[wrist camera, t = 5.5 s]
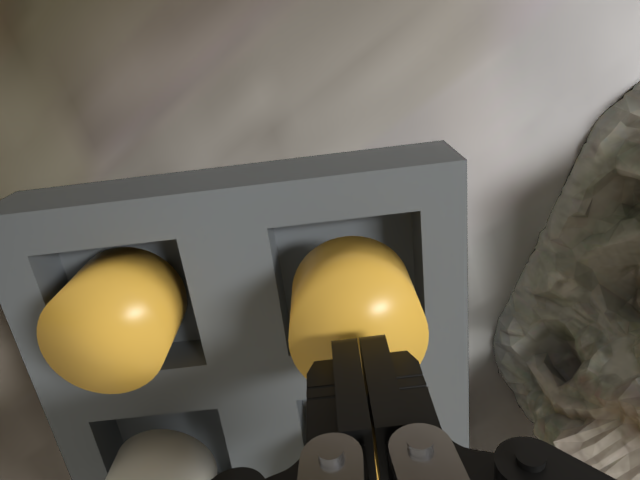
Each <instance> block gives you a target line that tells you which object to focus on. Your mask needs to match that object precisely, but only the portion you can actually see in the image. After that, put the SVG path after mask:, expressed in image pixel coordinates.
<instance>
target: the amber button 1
mask: <svg viewBox="0 0 640 480" xmlns="http://www.w3.org/2000/svg"><path fill="white" fill-rule="evenodd" d="M186 309H187V293H186V289H185V286H184V283H183V281H182V279H181V277H180V276H179V274H178V273H177V271H176V270H175V269H174V268H173V267H172V266H171V265H170V264H169V263H168V262H167V261H165V260H164V259H163V258H161V257H159V256H158V255H156V254H154V253H152V252H149V251H147V250H143V249H140V248H134V247H117V248H111V249H108V250H105V251H103V252H101V253H98V254H97V255H95V256H94V257H92V258H91V259H90V260H89V261H88V262H87V263H86V264H85V265H84V266H83V267H82V268H81V269H80V270H79V271H78V272H77V274H76V275H75V276H74V277H73V278H72V279H71V280H70V281H69V282H68V283H67V284H66V285H65V286H64V287H63V288H62V289H61V290H60V291H59V292H58V293H57V294H56V295H55V296H54V297H53V298H52V300H51V301H50V302H49V303H48V304H47V305H46V306H45V308H44V309H43V311H42V312H41V314H40V317H39V320H38V323H37V341H38V345H39V348H40V351H41V353H42V355H43V357H44V359H45V360H46V362H47V363H48V364H49V366H50V367H51V368H52V369H53V370H54V371H55V372H56V373H57V374H58V375H59V376H61V377H62V378H63V379H65V380H66V381H68V382H69V383H71V384H73V385H75V386H77V387H79V388H82V389H84V390H87V391H91V392H95V393H101V394H120V393H126V392H130V391H133V390H136V389H138V388H141V387H142V386H144V385H146V384H147V383H148V382H150V381H151V380H152V379H153V378H154V377H155V376H156V375H157V374H158V372H159V371H160V369H161V367H162V365H163V363H164V361H165V358H166V356H167V354H168V352H169V349H170V347H171V345H172V343H173V340H174V338H175V336H176V334H177V331H178V329H179V327H180V325H181V322H182V320H183V318H184V316H185V313H186Z"/></svg>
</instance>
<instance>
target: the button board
mask: <svg viewBox="0 0 640 480" xmlns="http://www.w3.org/2000/svg"><path fill="white" fill-rule="evenodd" d="M344 236H362V237H367V238H371V239H374V240H377V241H379V242H381V243H383V244H385V245H386V246H388V247H390V248H391V249H392V250H393V251H394V252H395V253H396V254H397V255H398V256H399V257H400V258H401V260H402V261H403V263H404V265H405V267H406V269H407V271H408V274H409V276H410V279H411V281H412V284H413V286H414V289H415V291H416V294H417V296H418V299H419V301H420V304H421V307H422V309H423V312H424V314H425V317H426V320H427V323H428V330H429V341H428V347H427V350H426V353H425V356H424V358H423V360H422V362H421V364H420V367H421V370H422V373H423V376H424V379H425V382H426V385H427V387H428V390H429V393H430V396H431V399H432V402H433V405H434V408H435V411H436V414H437V417H438V420H439V422H440V425H441V428H442V430H443V431H445V432H446V433H447V434H448V435H449V437H450V438H451V440H452V441H453V442H455V443H457V444H458V445H461V446H463V447H465V448H469V371H468V249H467V160H466V159H465V158H464V157H463V156H462V155H460V154H459V153H458V152H457V151H456V150H455V149H453V148H452V147H451V146H450V145H449V144H447V143H446V142H445V141H444V140H443V141H434V142H426V143H418V144H409V145H401V146H393V147H384V148H376V149H368V150H359V151H351V152H343V153H334V154H326V155H318V156H309V157H301V158H293V159H284V160H276V161H268V162H259V163H251V164H243V165H234V166H226V167H218V168H209V169H201V170H193V171H184V172H176V173H168V174H159V175H151V176H143V177H134V178H126V179H118V180H109V181H101V182H93V183H84V184H76V185H68V186H59V187H51V188H43V189H34V190H26V191H18V192H14V193H13V194H11V195H9V196H7V197H5V198H3V199H2V200H0V305H1V307H2V309H3V312H4V314H5V317H6V319H7V322H8V324H9V327H10V329H11V332H12V334H13V336H14V339H15V341H16V344H17V346H18V349H19V351H20V354H21V356H22V358H23V361H24V363H25V366H26V368H27V371H28V373H29V376H30V378H31V381H32V383H33V385H34V388H35V390H36V393H37V395H38V398H39V400H40V403H41V405H42V408H43V410H44V412H45V415H46V417H47V420H48V422H49V425H50V427H51V430H52V432H53V435H54V437H55V439H56V442H57V444H58V447H59V449H60V452H61V454H62V457H63V459H64V462H65V464H66V466H67V469H68V471H69V474H70V476H71V479H72V480H105V479H106V477H107V474H108V472H109V470H110V468H111V466H112V463H113V461H114V459H115V457H116V455H117V453H118V450H119V449H120V447H121V446H122V445H123V444H124V442H125V441H127V440H128V439H129V438H131V437H132V436H134V435H136V434H138V433H141V432H144V431H148V430H154V429H169V430H175V431H179V432H183V433H185V434H188V435H190V436H192V437H194V438H196V439H197V440H199V441H200V442H202V443H203V444H204V445H205V446H206V447H207V448H208V449H209V450H210V452H211V453H212V454H213V456H214V458H215V461H216V464H217V475H218V474H219V473H221V472H223V471H225V470H228V469H231V468H236V467H248V468H252V469H255V470H257V471H258V472H260V473H261V474H262V475H263V476H264V478H267V477H270V476H272V475H275V474H277V473H280V472H282V471H284V470H286V469H288V468H289V467H291V466H292V465H293V464H295V463H296V462H297V461H298V460H299V458H300V454H301V451H302V449H303V448H304V446H305V445H306V401H307V398H306V392H307V379H306V378H305V377H304V376H303V375H302V374H301V373H300V371H299V370H298V369H297V367H296V365H295V364H294V362H293V359H292V357H291V354H290V350H289V342H288V337H289V323H290V310H291V297H292V283H293V279H294V275H295V272H296V270H297V268H298V266H299V264H300V263H301V261H302V260H303V259H304V257H305V256H306V255H307V254H308V253H309V252H310V251H312V250H313V249H314V248H315V247H317V246H319V245H320V244H322V243H324V242H326V241H329V240H331V239H335V238H338V237H344ZM117 247H134V248H140V249H143V250H147V251H149V252H152V253H154V254H156V255H158V256H159V257H161V258H163V259H164V260H165V261H167V262H168V263H169V264H170V265H171V266H172V267H173V268H174V269H175V270H176V271H177V273H178V274H179V276H180V277H181V279H182V281H183V283H184V286H185V289H186V293H187V309H186V313H185V316H184V318H183V320H182V322H181V325H180V327H179V329H178V331H177V334H176V336H175V338H174V340H173V343H172V345H171V347H170V349H169V352H168V354H167V356H166V358H165V361H164V363H163V365H162V367H161V369H160V371H159V372H158V374H157V375H156V376H155V377H154V378H153V379H152V380H151V381H150V382H148V383H147V384H146V385H144V386H142V387H141V388H138V389H136V390H133V391H130V392H126V393H120V394H101V393H95V392H91V391H87V390H84V389H82V388H79V387H77V386H75V385H73V384H71V383H69V382H68V381H66V380H65V379H63V378H62V377H61V376H59V375H58V374H57V373H56V372H55V371H54V370H53V369H52V368H51V367H50V366H49V364H48V363H47V362H46V360H45V359H44V357H43V355H42V353H41V351H40V348H39V345H38V341H37V323H38V320H39V317H40V314H41V312H42V311H43V309H44V308H45V306H46V305H47V304H48V303H49V302H50V301H51V300H52V298H53V297H54V296H55V295H56V294H57V293H58V292H59V291H60V290H61V289H62V288H63V287H64V286H65V285H66V284H67V283H68V282H69V281H70V280H71V279H72V278H73V277H74V276H75V275H76V274H77V272H78V271H79V270H80V269H81V268H82V267H83V266H84V265H85V264H86V263H87V262H88V261H89V260H90V259H91V258H92V257H94V256H95V255H97V254H98V253H101V252H103V251H105V250H108V249H111V248H117Z"/></svg>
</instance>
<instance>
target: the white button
mask: <svg viewBox="0 0 640 480" xmlns="http://www.w3.org/2000/svg"><path fill="white" fill-rule="evenodd" d="M216 475H217V464H216V461H215V458H214V456H213V454H212V453H211V452H210V450H209V449H208V448H207V447H206V446H205V445H204V444H203V443H202V442H200V441H199V440H197V439H196V438H194V437H192V436H190V435H188V434H185V433H183V432H179V431H175V430H169V429H154V430H148V431H144V432H141V433H138V434H136V435H134V436H132V437H131V438H129V439H128V440H127V441H125V442H124V444H123V445H122V446H121V447H120V449H119V450H118V453H117V455H116V457H115V459H114V461H113V463H112V466H111V468H110V470H109V472H108V474H107V477H106V479H105V480H211V479H213V478H214V477H215V476H216Z"/></svg>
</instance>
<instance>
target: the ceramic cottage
mask: <svg viewBox="0 0 640 480" xmlns="http://www.w3.org/2000/svg"><path fill="white" fill-rule="evenodd" d="M535 249H536V250H535V251H534V252H533V253H532V254H531V255H530V257H529V263H527V264H526V266H525V268H524V270H523V272H522V274H521V276H520V278H519V280H518V282H517V284H516V286H515V290H514V291H513V292H512V294H511V296H510V299H509V301H508V303H507V305H506V307H505V309H504V310H503V312H502V314H501V316H500V318H499V319H498V323H497V328H496V333H495V337H494V341H493V345H494V354H495V361H496V363H497V365H498V367H499V369H498V373H500V374H501V375H502V376H503V379H504V380H505V381H506V383H507V385H508V386H509V387H510V388H511V389H512V390H513V391H514V393H515V397H516V400H517V403H518V404H519V407H522V408H523V411H524V413H525V415H526V416H527V418H528V419H529V420H530V421H531V422H533V423H534V430H533V434H534V435H535V436H536V437H537V438H538V439H539V440H542V441H544V442H547V443H549V444H551V445H553V446H554V447H556V448H558V449H560V450H562V451H564V452H566V453H568V454H569V455H571V456H573V457H575V458H577V459H579V460H581V461H583V462H585V463H586V464H588V465H590V466H592V467H594V468H596V469H598V470H600V471H601V472H603V473H605V474H607V475H609V476H611V477H613V478H615V479H617V480H640V82H638V83H637V84H635V85H634V87H633V90H631V91H629V92H627V93H625V94H624V97H623V99H621V100H619V101H618V102H616V103H615V104H614V105H613V106H612V107H610V108H609V109H608V110H606V111H605V112H604V113H603V115H602V116H601V117H600V118H599V119H598V120H597V121H596V123H595V124H594V126H593V128H592V130H591V132H590V134H589V136H588V138H587V143H585V144H584V145H583V147H582V150H581V152H580V154H579V156H578V157H577V159H576V162H575V164H574V167H573V169H572V171H571V173H570V176H568V178H567V181H566V184H565V185H564V187H563V188H562V194H561V196H559V197H558V199H557V201H556V203H555V206H554V208H553V210H552V212H551V214H550V216H549V218H548V220H547V224H546V227H545V228H544V229H543V230H542V231H541V232H540V234H539V238H538V243H537V245H536V247H535Z"/></svg>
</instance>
